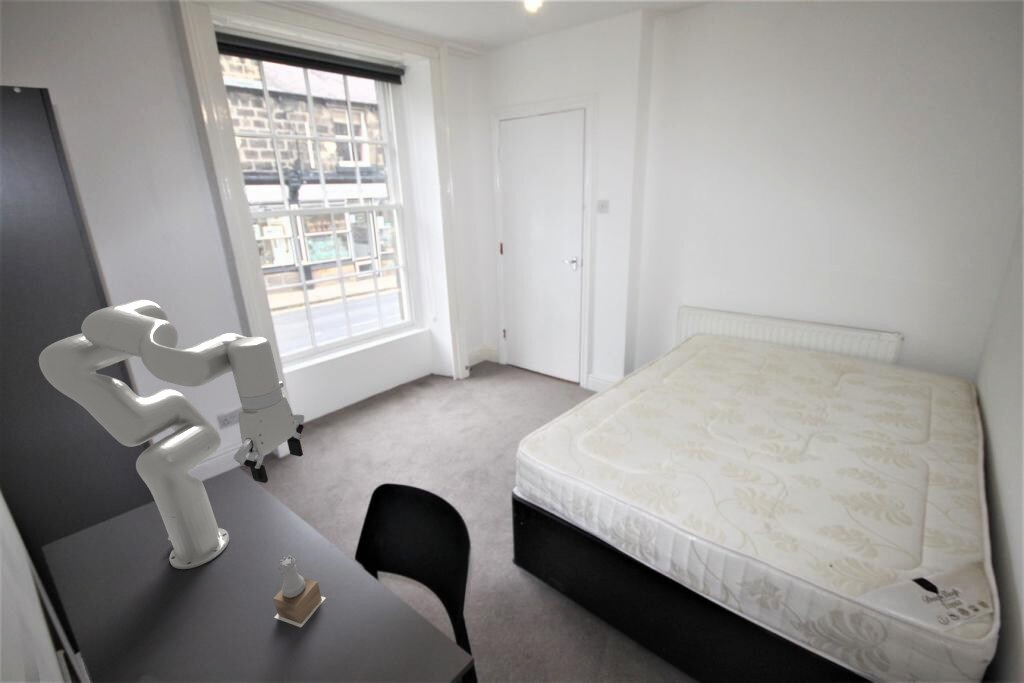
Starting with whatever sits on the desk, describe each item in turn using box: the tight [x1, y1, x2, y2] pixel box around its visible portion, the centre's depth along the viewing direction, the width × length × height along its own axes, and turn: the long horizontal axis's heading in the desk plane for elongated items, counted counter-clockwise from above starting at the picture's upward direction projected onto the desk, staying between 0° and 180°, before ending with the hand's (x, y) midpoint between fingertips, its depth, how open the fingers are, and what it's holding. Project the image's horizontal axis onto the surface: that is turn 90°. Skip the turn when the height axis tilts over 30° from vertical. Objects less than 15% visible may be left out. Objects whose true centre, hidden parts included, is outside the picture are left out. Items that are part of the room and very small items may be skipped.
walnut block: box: [272, 577, 322, 624], centre depth 95 cm, size 6×6×5 cm
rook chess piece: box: [278, 555, 306, 598], centre depth 93 cm, size 4×4×8 cm
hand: (279, 467), depth 98 cm, fingers open, 9 cm apart
